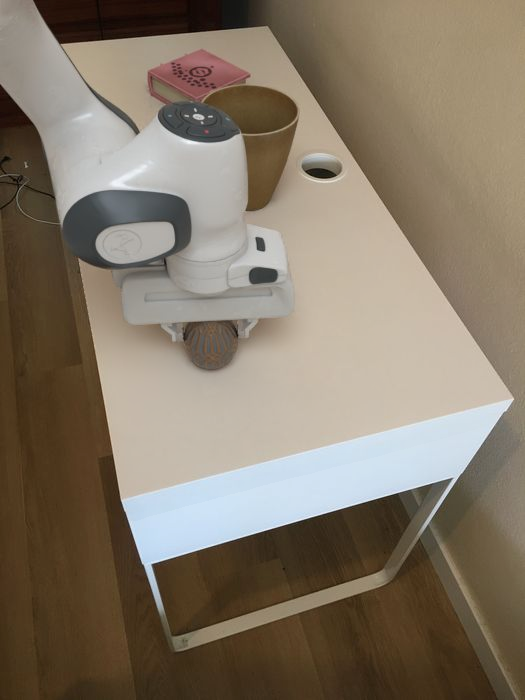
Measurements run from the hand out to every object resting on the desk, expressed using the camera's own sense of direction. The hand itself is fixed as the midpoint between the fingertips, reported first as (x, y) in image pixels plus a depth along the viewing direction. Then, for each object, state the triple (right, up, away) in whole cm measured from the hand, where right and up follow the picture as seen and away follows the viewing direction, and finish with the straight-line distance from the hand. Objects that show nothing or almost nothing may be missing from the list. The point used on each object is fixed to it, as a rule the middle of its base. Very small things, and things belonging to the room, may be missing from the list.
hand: (211, 336), depth 73 cm
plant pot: (+4, +24, +25) cm, 35 cm away
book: (-6, +50, +45) cm, 68 cm away
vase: (0, -3, +3) cm, 4 cm away
